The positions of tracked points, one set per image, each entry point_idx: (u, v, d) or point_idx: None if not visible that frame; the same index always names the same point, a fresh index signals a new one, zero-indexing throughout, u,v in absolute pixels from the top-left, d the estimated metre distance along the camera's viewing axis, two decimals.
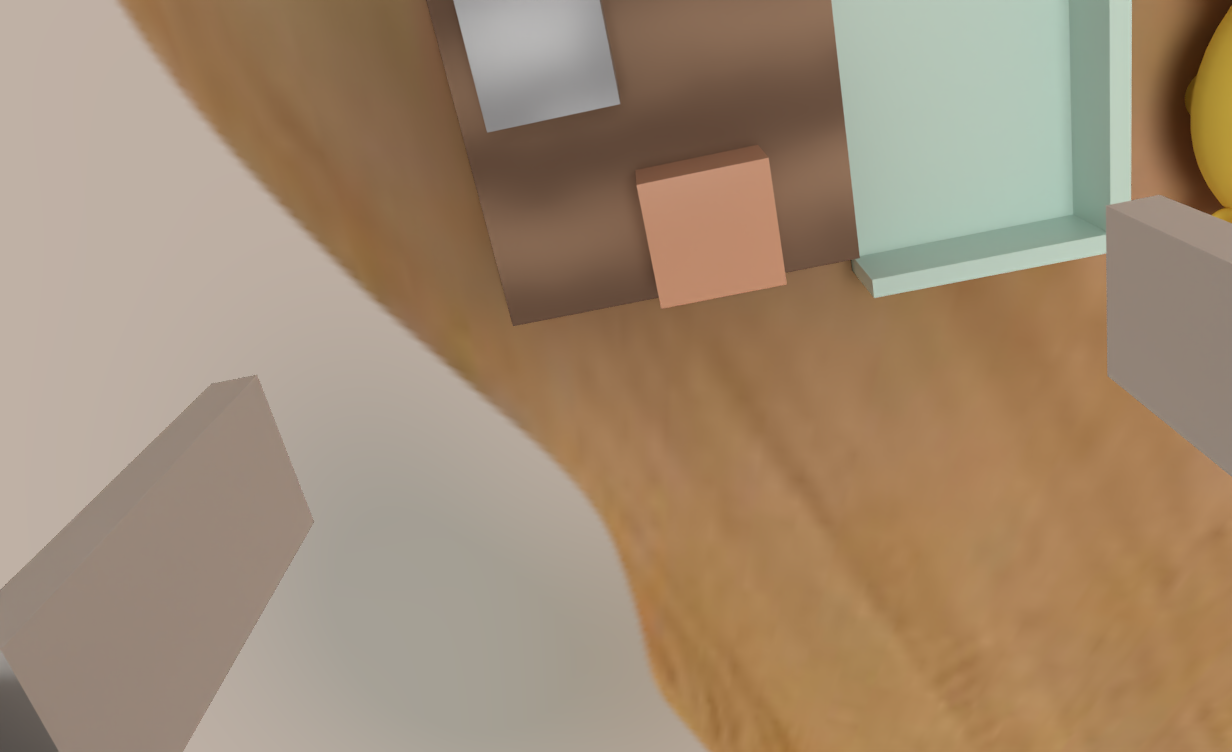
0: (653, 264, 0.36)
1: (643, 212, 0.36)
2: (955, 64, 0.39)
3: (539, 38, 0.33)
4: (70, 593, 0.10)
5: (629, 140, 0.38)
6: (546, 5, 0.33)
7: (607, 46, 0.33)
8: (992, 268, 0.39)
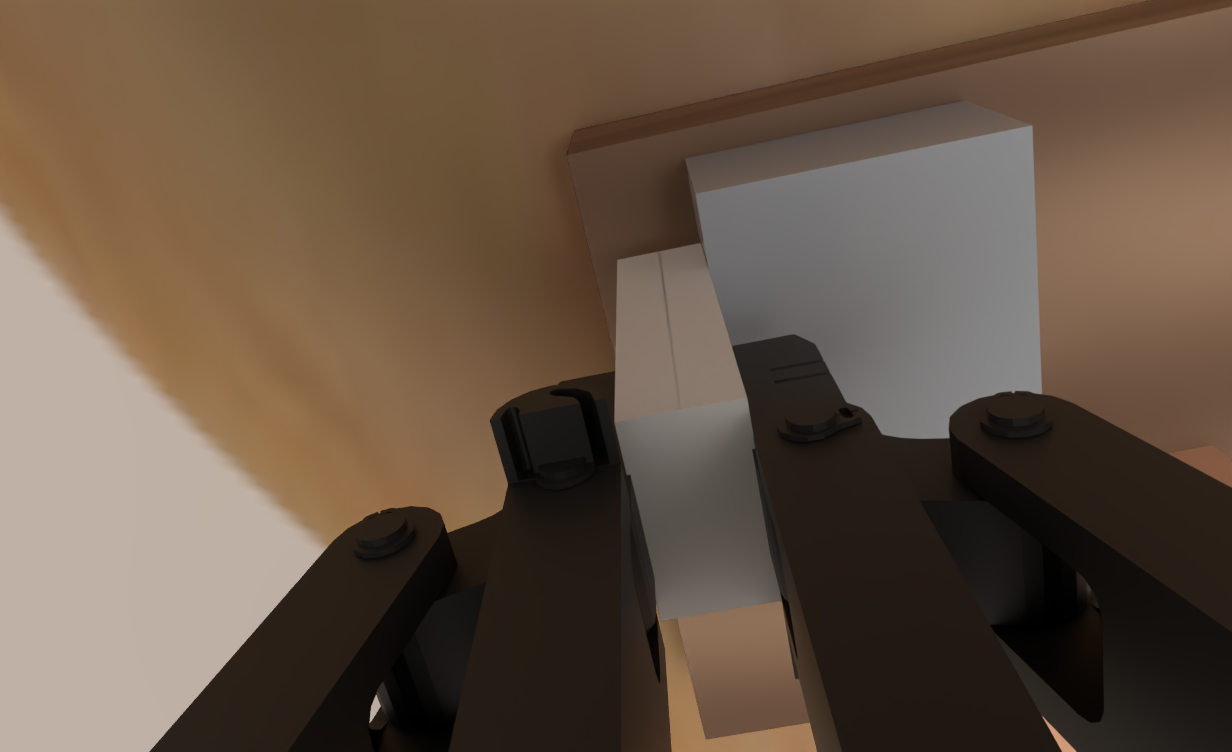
0: None
1: None
2: None
3: (885, 296, 0.15)
4: None
5: None
6: (911, 230, 0.14)
7: (1035, 313, 0.15)
8: None
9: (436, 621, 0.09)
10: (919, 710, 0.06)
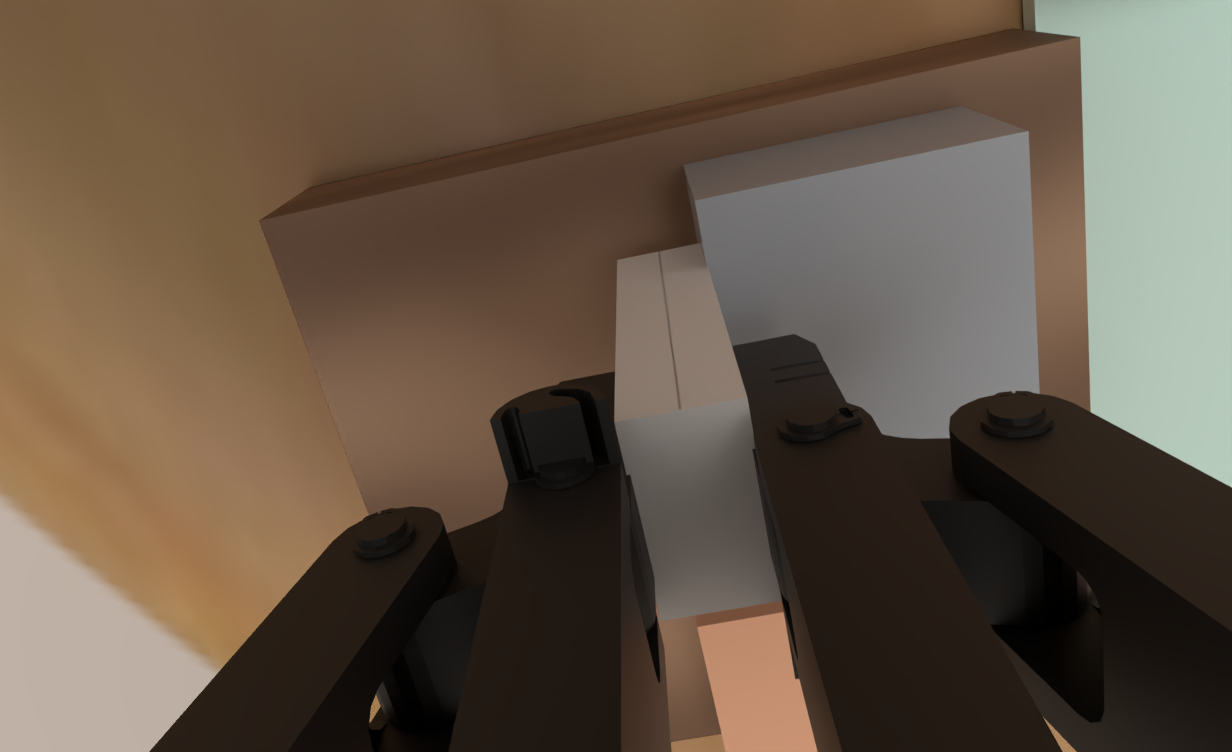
0: None
1: (710, 671, 0.18)
2: None
3: (884, 301, 0.15)
4: None
5: None
6: (909, 235, 0.14)
7: (1033, 317, 0.15)
8: None
9: (435, 621, 0.09)
10: (920, 711, 0.06)
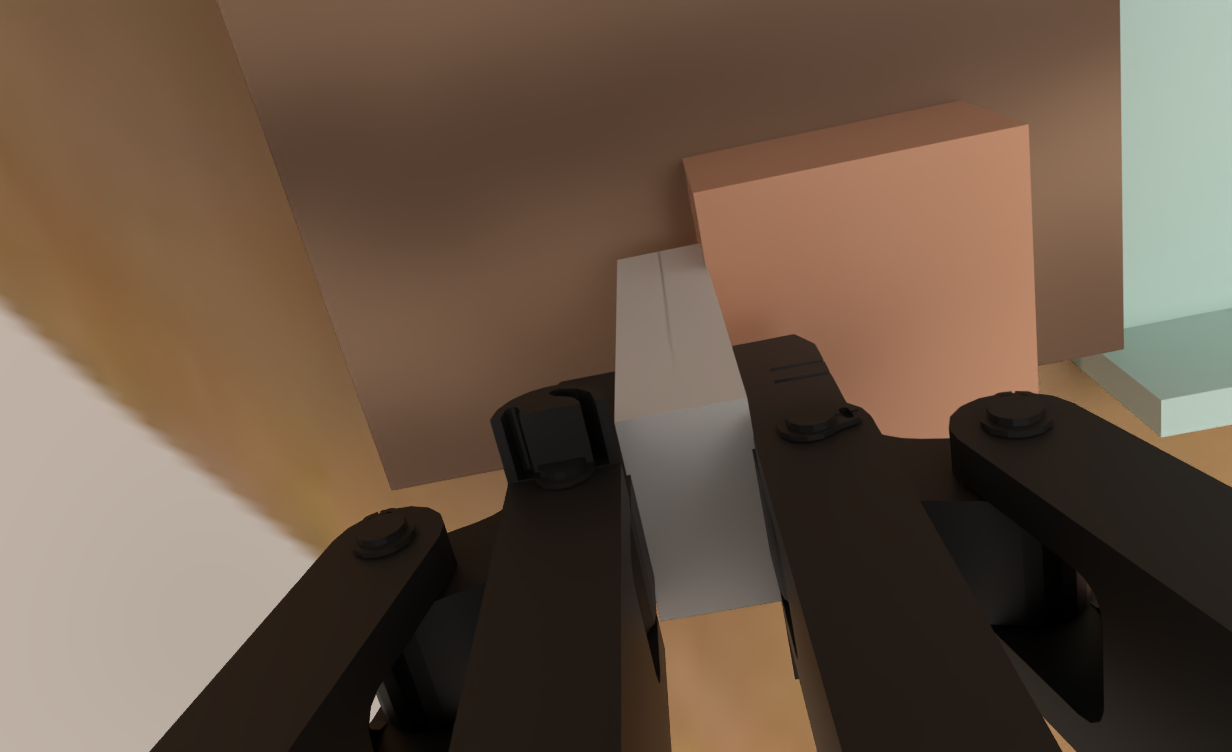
0: None
1: (708, 259, 0.15)
2: None
3: None
4: None
5: (626, 98, 0.17)
6: None
7: None
8: None
9: (435, 621, 0.09)
10: (919, 708, 0.06)
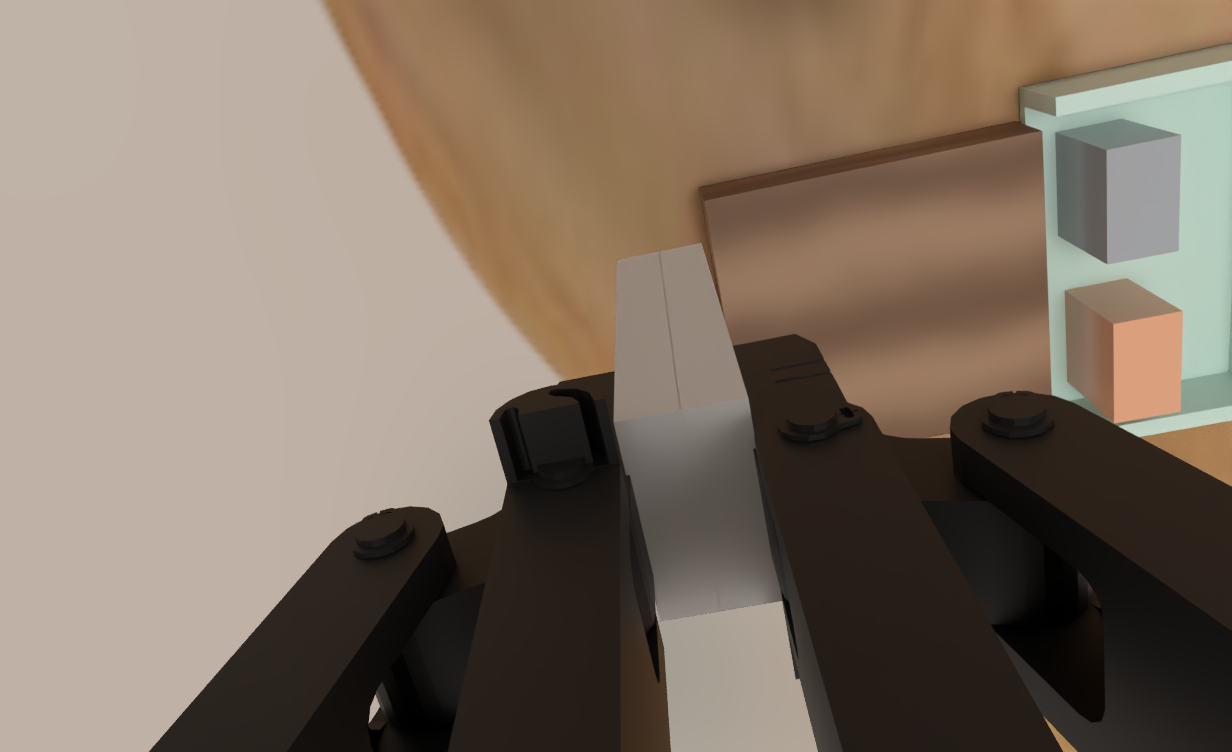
0: None
1: (1181, 333, 0.42)
2: None
3: None
4: None
5: (865, 322, 0.45)
6: None
7: None
8: (1168, 426, 0.45)
9: (435, 621, 0.09)
10: (922, 709, 0.06)
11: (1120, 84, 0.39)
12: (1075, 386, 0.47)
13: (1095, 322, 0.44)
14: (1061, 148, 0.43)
